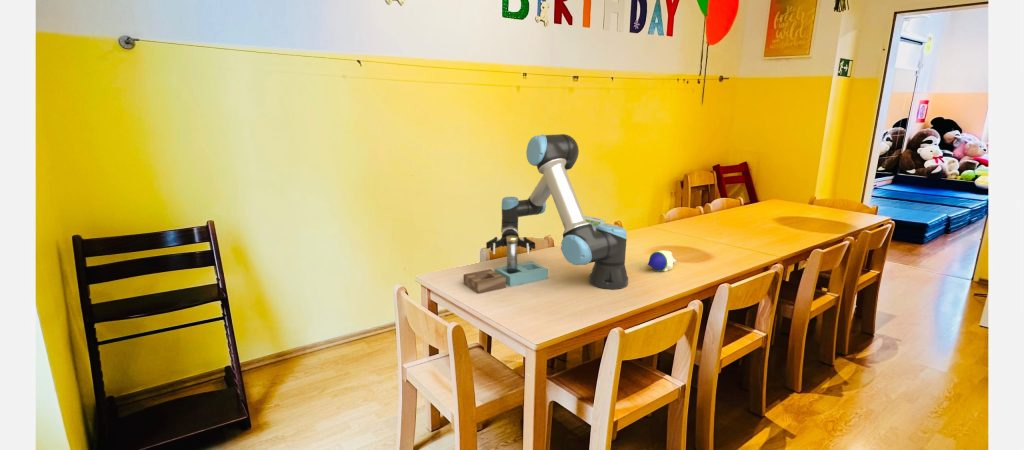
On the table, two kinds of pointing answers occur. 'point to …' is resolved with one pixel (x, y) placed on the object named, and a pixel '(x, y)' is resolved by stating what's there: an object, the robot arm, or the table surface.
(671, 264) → the cartoon head
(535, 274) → the block
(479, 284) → the socket block
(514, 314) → the table surface
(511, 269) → the grey metal cylinder
